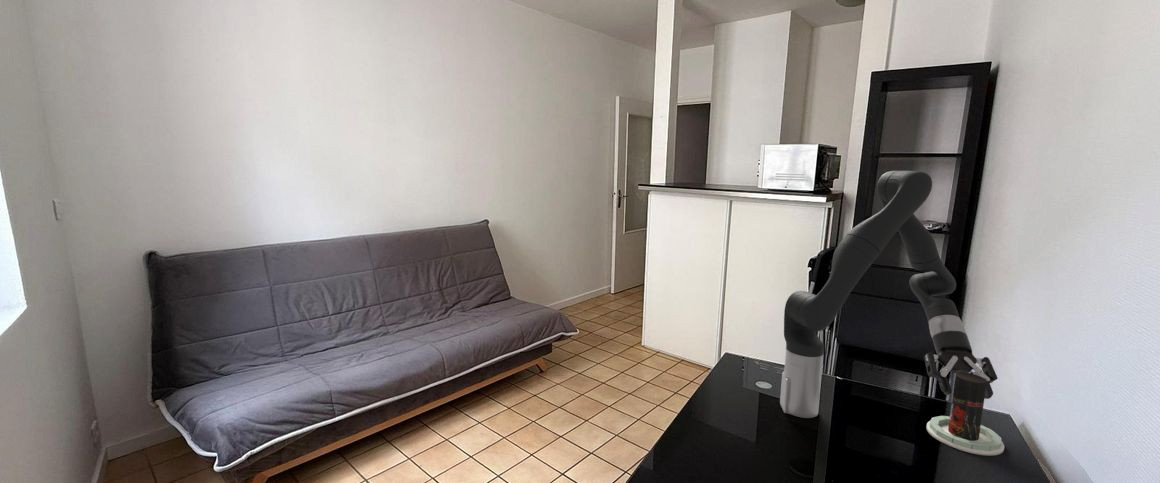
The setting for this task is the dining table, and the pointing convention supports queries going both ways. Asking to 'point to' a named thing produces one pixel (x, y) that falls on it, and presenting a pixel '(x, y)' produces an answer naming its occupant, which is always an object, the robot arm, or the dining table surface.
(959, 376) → the deodorant
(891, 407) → the dining table surface
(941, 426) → the round plate
